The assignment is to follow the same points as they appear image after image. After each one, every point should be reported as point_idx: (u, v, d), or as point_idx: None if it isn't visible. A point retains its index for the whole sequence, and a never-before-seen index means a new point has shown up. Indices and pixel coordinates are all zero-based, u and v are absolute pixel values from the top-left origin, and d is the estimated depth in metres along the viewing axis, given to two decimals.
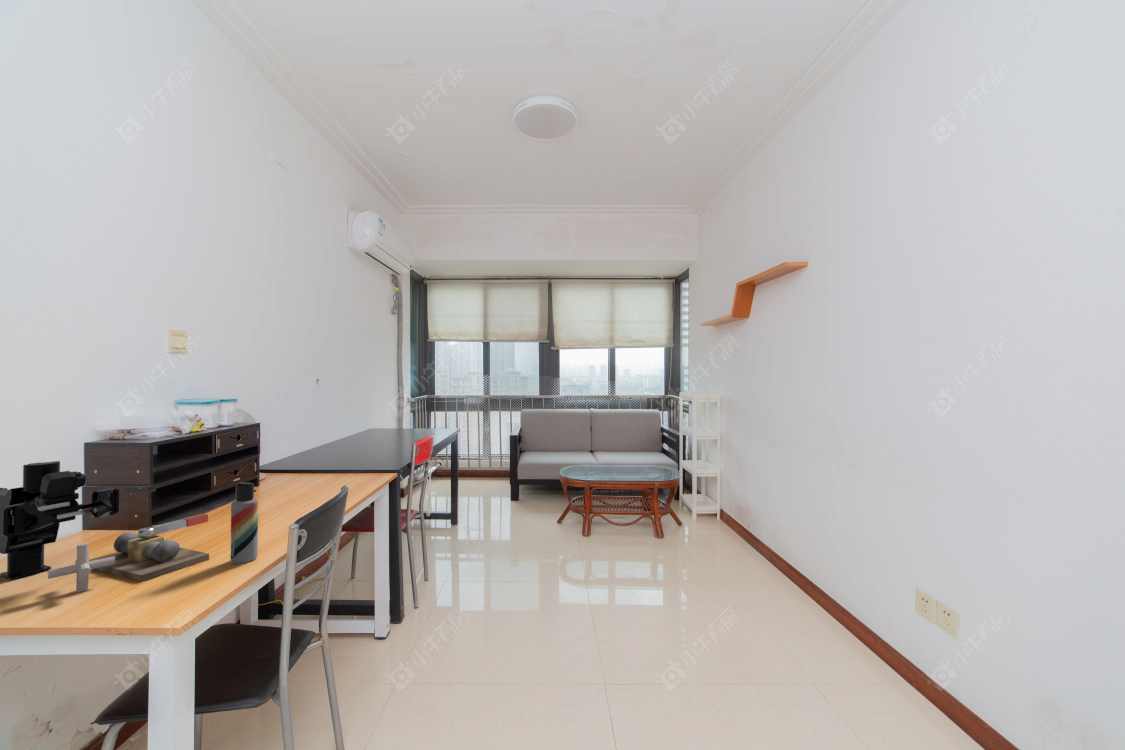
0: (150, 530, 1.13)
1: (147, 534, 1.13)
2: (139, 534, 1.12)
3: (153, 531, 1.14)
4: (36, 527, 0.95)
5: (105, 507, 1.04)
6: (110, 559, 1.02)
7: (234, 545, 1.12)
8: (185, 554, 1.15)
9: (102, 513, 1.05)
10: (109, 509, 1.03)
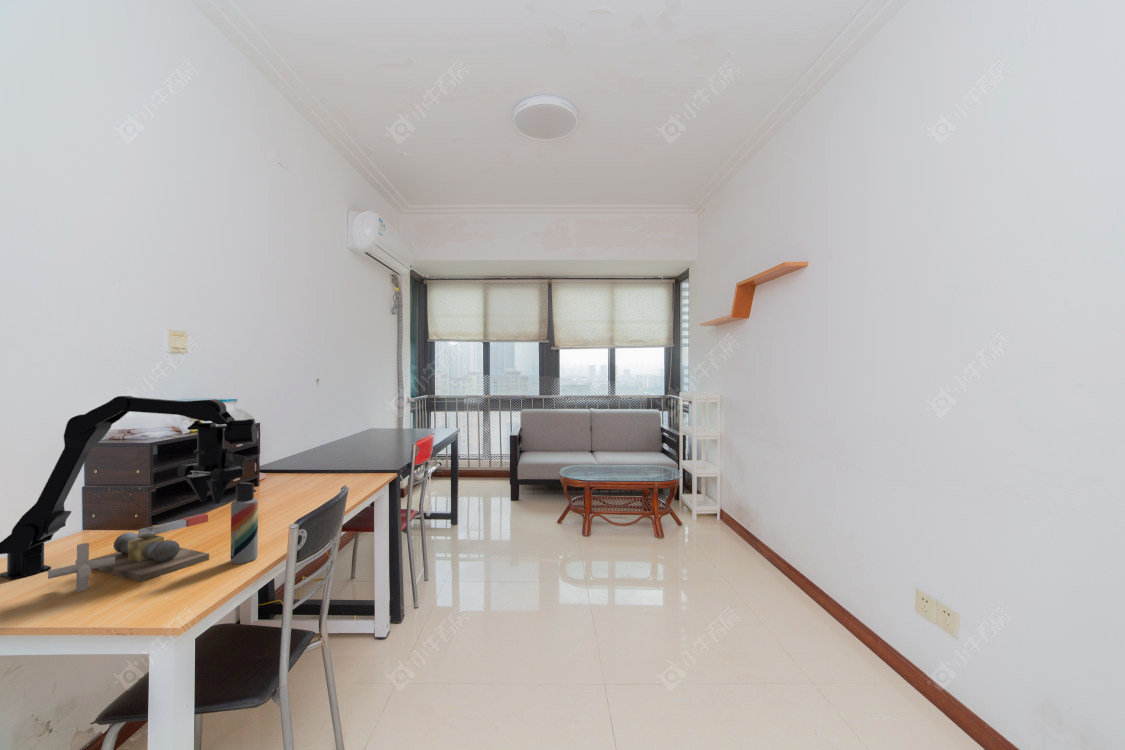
0: (150, 530, 1.13)
1: (147, 534, 1.13)
2: (139, 534, 1.12)
3: (153, 531, 1.14)
4: (213, 491, 1.19)
5: (203, 494, 1.23)
6: (110, 559, 1.01)
7: (234, 545, 1.12)
8: (185, 554, 1.15)
9: (197, 489, 1.21)
10: (203, 501, 1.22)
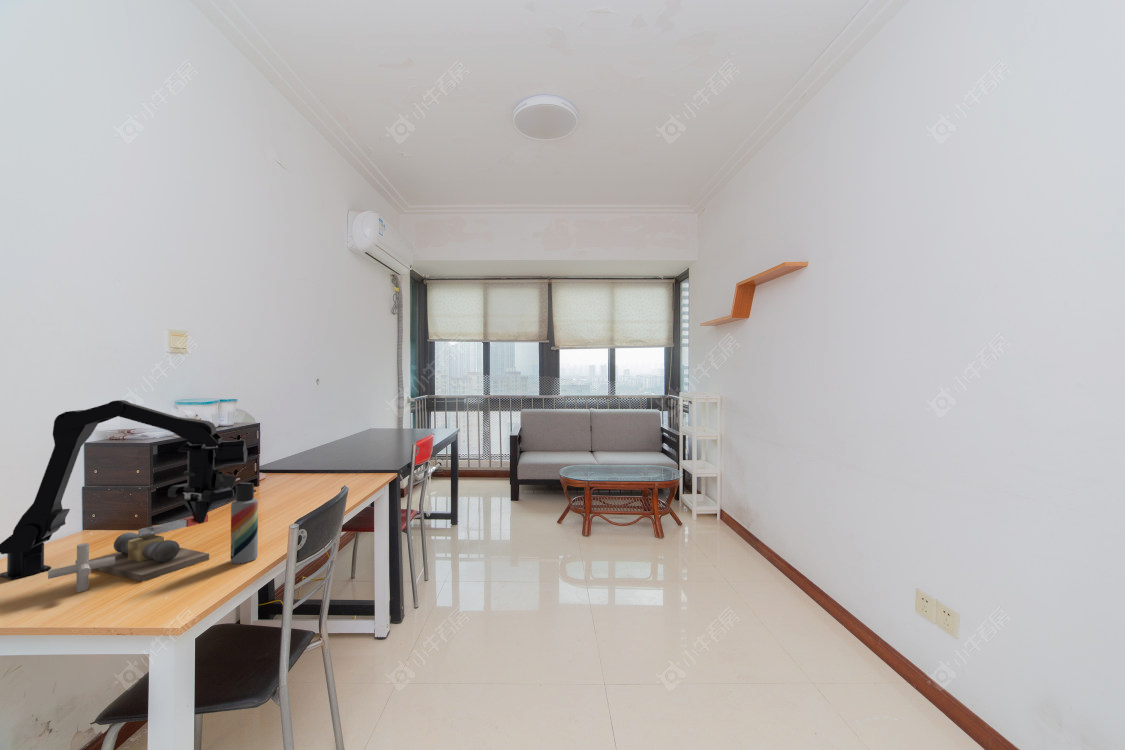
0: (150, 530, 1.13)
1: (147, 534, 1.13)
2: (139, 534, 1.12)
3: (153, 531, 1.14)
4: (197, 511, 1.21)
5: None
6: (110, 559, 1.01)
7: (234, 545, 1.12)
8: (185, 554, 1.15)
9: None
10: (199, 522, 1.23)
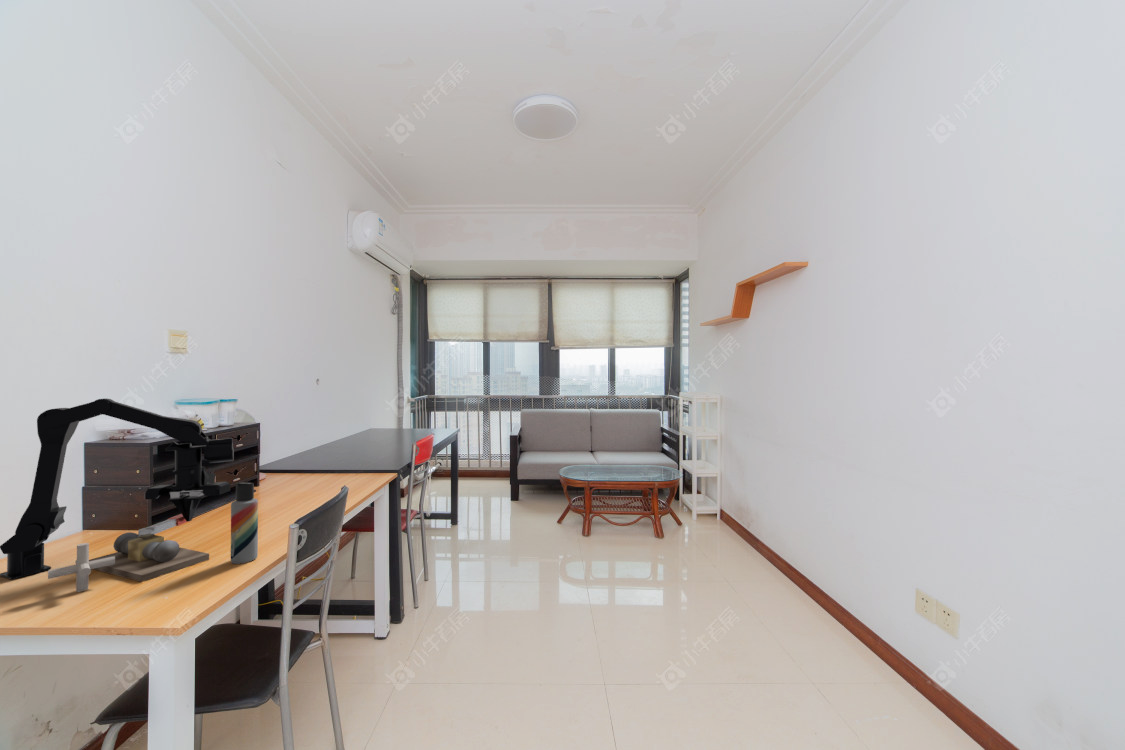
0: (152, 529, 1.14)
1: (150, 533, 1.13)
2: (141, 534, 1.12)
3: (154, 531, 1.15)
4: (190, 509, 1.23)
5: None
6: (110, 559, 1.01)
7: (234, 545, 1.12)
8: (185, 554, 1.15)
9: (184, 509, 1.23)
10: (188, 520, 1.25)
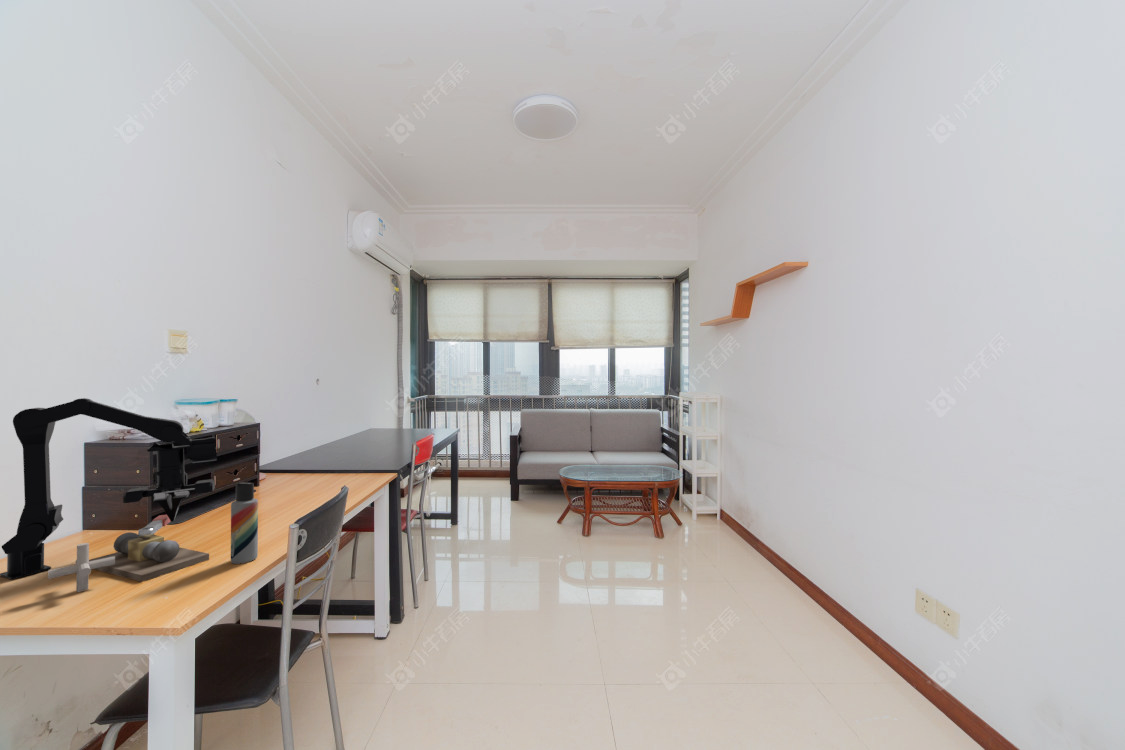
0: (154, 528, 1.14)
1: (152, 532, 1.14)
2: (144, 534, 1.12)
3: None
4: (177, 508, 1.24)
5: None
6: (110, 559, 1.02)
7: (234, 545, 1.12)
8: (185, 554, 1.15)
9: (170, 509, 1.23)
10: (172, 520, 1.24)
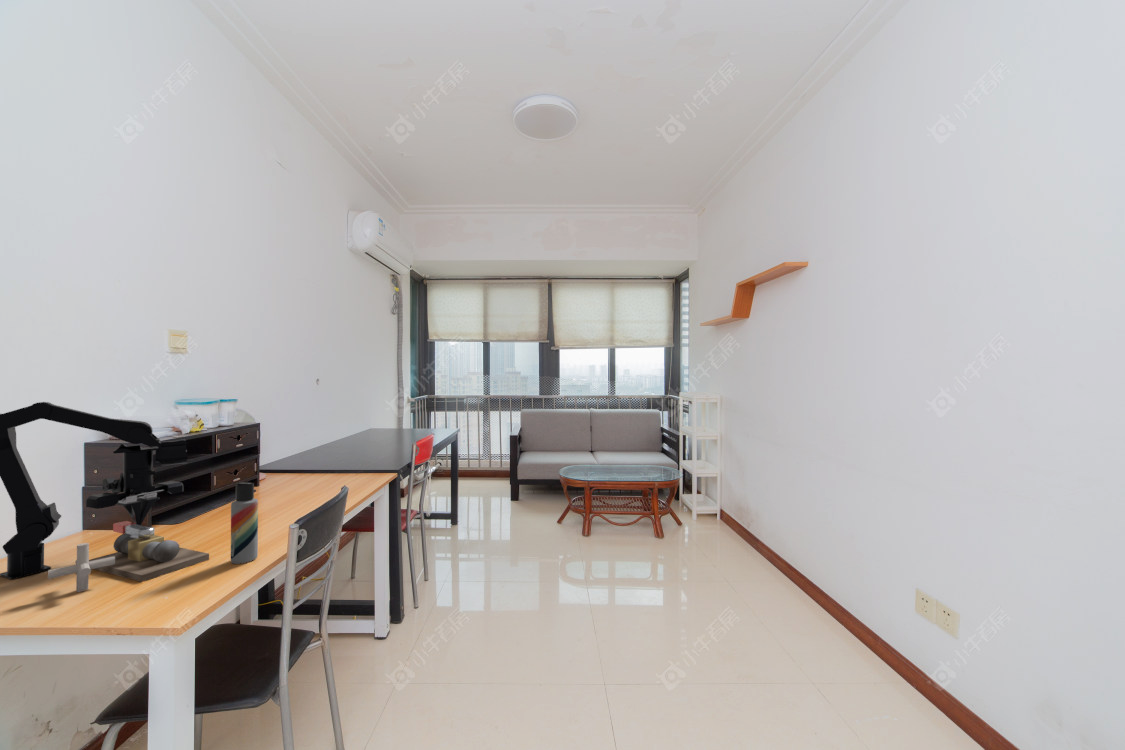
0: None
1: None
2: (149, 533, 1.13)
3: None
4: None
5: None
6: (110, 559, 1.01)
7: (234, 545, 1.12)
8: (185, 554, 1.15)
9: None
10: None
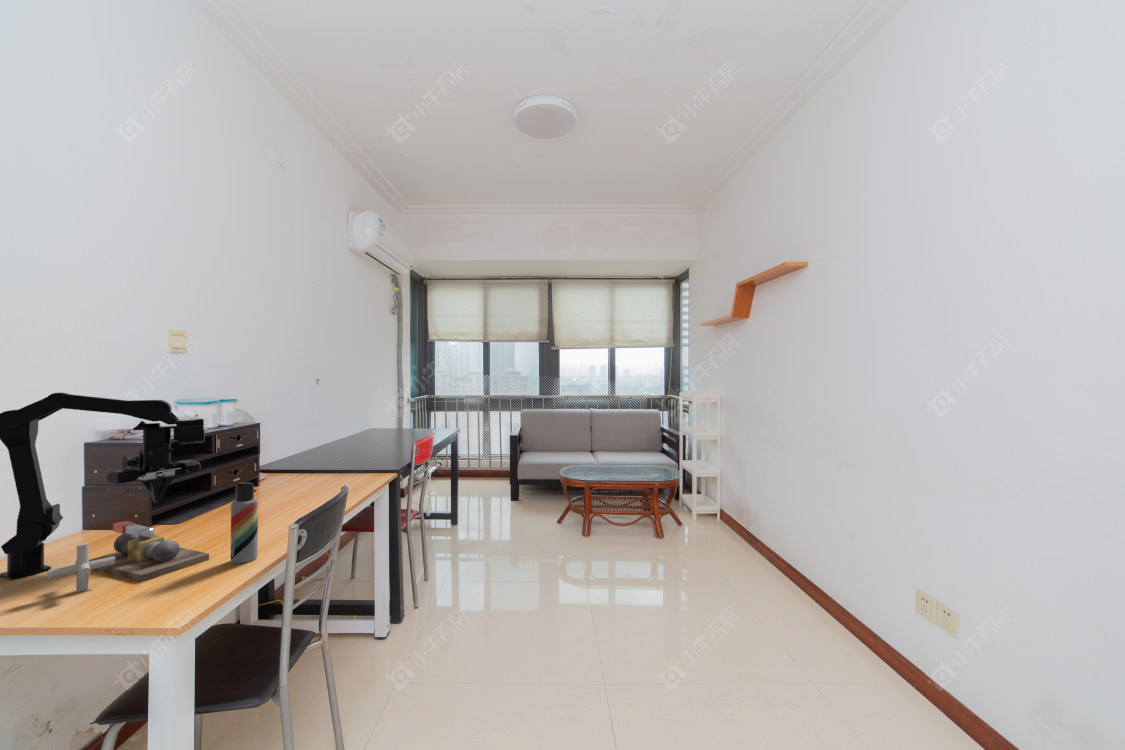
0: None
1: None
2: (149, 533, 1.13)
3: None
4: None
5: None
6: (110, 559, 1.01)
7: (234, 545, 1.12)
8: (185, 554, 1.15)
9: None
10: None
